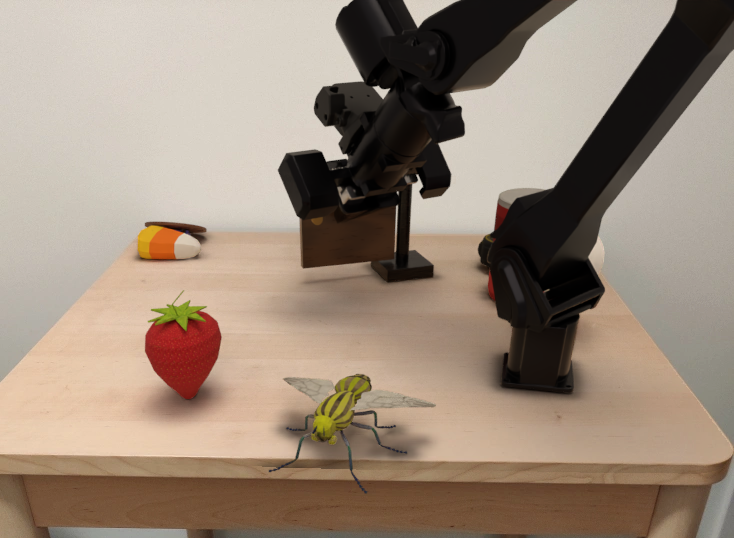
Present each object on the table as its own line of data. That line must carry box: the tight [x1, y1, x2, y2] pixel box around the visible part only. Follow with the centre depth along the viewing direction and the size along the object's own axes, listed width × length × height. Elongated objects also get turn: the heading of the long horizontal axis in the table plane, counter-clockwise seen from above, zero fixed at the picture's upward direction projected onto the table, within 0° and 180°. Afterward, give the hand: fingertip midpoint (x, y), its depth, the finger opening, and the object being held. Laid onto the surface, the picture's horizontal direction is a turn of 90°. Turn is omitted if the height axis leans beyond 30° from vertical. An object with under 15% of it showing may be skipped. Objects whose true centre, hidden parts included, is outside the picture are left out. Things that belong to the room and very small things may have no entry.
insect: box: [268, 373, 437, 495], centre depth 59 cm, size 13×11×5 cm
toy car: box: [144, 221, 207, 236], centre depth 101 cm, size 8×8×2 cm
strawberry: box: [144, 290, 223, 400], centre depth 63 cm, size 6×8×10 cm
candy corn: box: [136, 226, 202, 260], centre depth 96 cm, size 6×3×8 cm
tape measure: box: [477, 233, 493, 269], centre depth 93 cm, size 7×7×4 cm
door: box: [298, 206, 397, 269], centre depth 87 cm, size 12×2×10 cm, turn 109°
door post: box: [370, 184, 435, 283], centre depth 89 cm, size 6×6×12 cm
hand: (338, 219), depth 85 cm, fingers closed
